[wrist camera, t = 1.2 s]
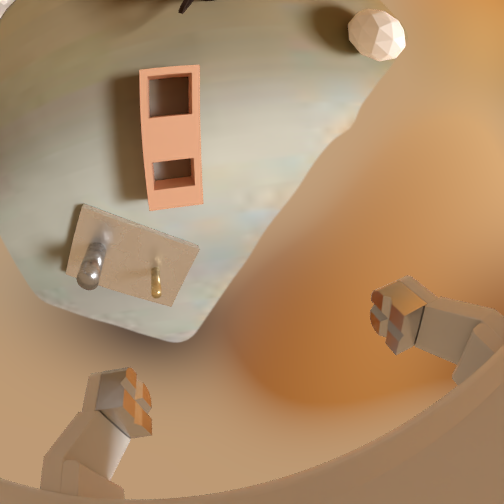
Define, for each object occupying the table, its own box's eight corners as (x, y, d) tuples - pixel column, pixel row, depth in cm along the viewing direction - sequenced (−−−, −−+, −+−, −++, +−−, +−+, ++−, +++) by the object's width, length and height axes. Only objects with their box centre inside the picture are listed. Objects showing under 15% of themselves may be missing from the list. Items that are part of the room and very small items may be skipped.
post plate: (67, 269, 32) (54, 304, 26) (84, 203, 29) (67, 229, 23) (170, 301, 40) (175, 338, 34) (198, 245, 37) (207, 277, 31)
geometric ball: (358, 47, 31) (400, 75, 28) (326, 37, 27) (374, 66, 24) (377, 10, 25) (423, 35, 22) (347, -7, 21) (401, 18, 18)
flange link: (142, 74, 24) (139, 70, 21) (195, 69, 26) (199, 64, 22) (150, 199, 32) (149, 210, 28) (198, 192, 33) (203, 203, 30)
